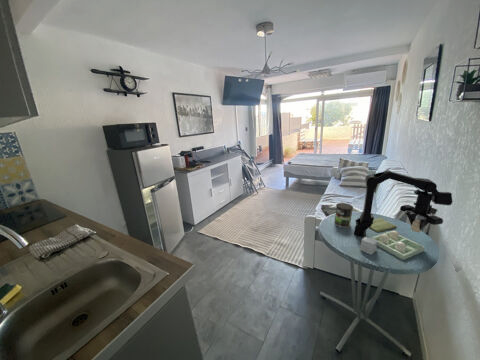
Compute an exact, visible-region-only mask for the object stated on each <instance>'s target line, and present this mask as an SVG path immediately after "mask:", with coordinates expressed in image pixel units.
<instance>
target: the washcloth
mask: <svg viewBox="0 0 480 360" xmlns="http://www.w3.org/2000/svg"><path fill="white" fill-rule="evenodd" d="M397 227H398V226H397V225H396V224H394V223H391V222H388V221H387V220H385V219H383V218H381V217H378V218H374V220H373V224H372V225H371V227H368V229H371V230H373V231H374V232H375V233H384V232H386V231H387V232H388V231H391V230H392V229H396V228H397Z"/></svg>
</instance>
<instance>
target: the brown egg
mask: <svg viewBox="0 0 480 360" xmlns="http://www.w3.org/2000/svg"><path fill="white" fill-rule="evenodd" d="M420 220H421V219H415V220H414V221H413V222H412V226H411V225H410V226H411V228H410V230H411V231H413V232H416V233H421V232H422V230H420Z"/></svg>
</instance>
